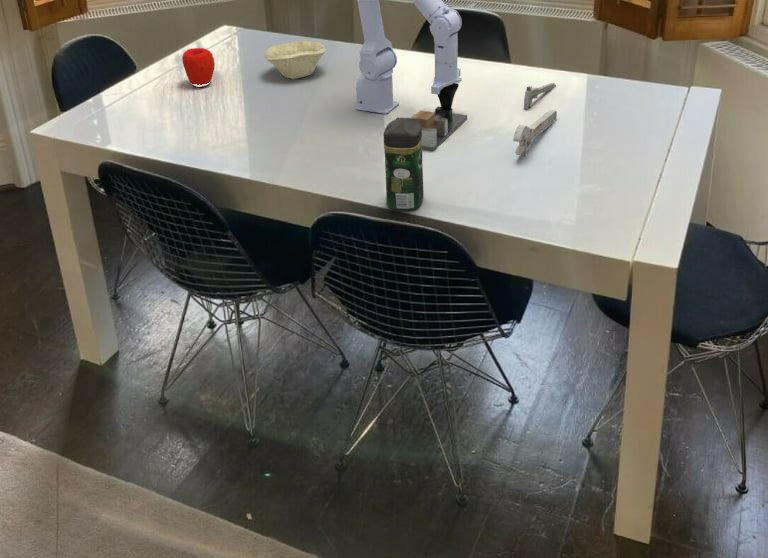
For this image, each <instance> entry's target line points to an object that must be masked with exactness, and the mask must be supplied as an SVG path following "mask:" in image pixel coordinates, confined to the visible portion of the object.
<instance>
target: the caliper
mask: <svg viewBox="0 0 768 558" xmlns="http://www.w3.org/2000/svg"><path fill="white" fill-rule="evenodd" d="M555 87H557V84H555V83H554V82H550V83H548V84H546V85H545V84H544V85H542V86H540V87H533V86H530V85H528V86H526V91H524V99H523V110H526V111H527V110H529V109H531V108H532V104H533V99H538V95H541V94H543V93H546V92H548V91H552V90H554V88H555ZM551 89H552V90H551Z"/></svg>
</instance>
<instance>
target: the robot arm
mask: <svg viewBox="0 0 768 558" xmlns="http://www.w3.org/2000/svg"><path fill="white" fill-rule="evenodd" d="M356 1H357V8H358V12H359V18H360V24H361V30H362V34H363V35H362V36H363V40H364V42H363V44H362V46H361V48H360V50H359V55H360V56H359V57H360V59H359V65H358V67H359V71H360V74H359V75H358V77H357V79H356V84H355V91H356V95H355V96H356V107H355V110H359V111H363V112H364V111H365V112H372V113H378V114H388V113H390V112H392V110H393V109H395V108H397V106H399V105H400V101H394V89H393V85H394V84H393V73H394V68H395V67H396V65H397V63H398V56H397V53H396V52H395V50H394V48H393V44H392V42H391V41H390V40H389V39H388V38H386V34H385V29H384V23H383V17H382V16H383V15H382V10H381V5H380V0H356ZM412 3H413V4H414V6H415V7H416V8H417V10H418V11H419V12H420V14H422V16H423V17H424V18H425V19H426V21H427V22H428V23H429V30H430V33H431V35H432V37H433V43H434V76H433V82H432V83H433V84H432V85H431V89H430V91H431V92H430V93H431V94H432V95H436V96H437V97H438V99H439V103H440V107H445V108H453V107H452V106H453V101H454V99H455V94H456V92H457V91H458V88H459V83H461V82H462V81H463V80H462V79H463V78H462V77H461V72H462V71H461V68H458V61H459V60H458V50H459V49H458V47H459V46H458V43H459V42H458V40H459V39H458V35H459V34H458V32H459V31H460V30H461V28H462V24H463V22H462V21H463V20H462V17H461V15H460V14H459V11H457V10H456V9H453V8H450V7H449V6H448V5H446V3H444V1H443V0H412Z"/></svg>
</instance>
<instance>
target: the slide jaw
mask: <svg viewBox="0 0 768 558" xmlns="http://www.w3.org/2000/svg"><path fill="white" fill-rule="evenodd" d="M434 112H435V129H437V135H439V136H446V135H447V134H448V122H450V121H451V120H452V113H453V107H451V108H445V107H441V106H437V107H436V108H435V109H434ZM416 114H417V113H414V114H413V115H412V116H411V118H412V117H413V116H415V115H416Z"/></svg>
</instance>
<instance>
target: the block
mask: <svg viewBox="0 0 768 558" xmlns="http://www.w3.org/2000/svg"><path fill="white" fill-rule="evenodd" d="M434 112H435V111H432V112H431V111H426V110H419V111H418V112H416V113H415V114H416V115H415V116H413V115H412V116H413V117H412V116H411V118H414V119H415V120H416V121H418V122H419V123H420V124H421V127H426V128H433V129H435V113H434Z"/></svg>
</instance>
